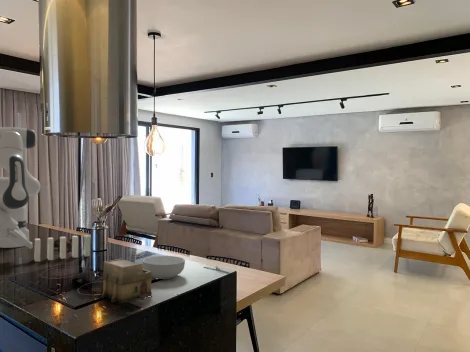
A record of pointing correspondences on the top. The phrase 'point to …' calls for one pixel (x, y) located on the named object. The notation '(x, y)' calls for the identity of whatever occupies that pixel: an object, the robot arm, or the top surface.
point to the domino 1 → (37, 250)
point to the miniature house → (125, 281)
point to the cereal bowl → (164, 266)
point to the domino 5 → (86, 245)
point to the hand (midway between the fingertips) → (31, 247)
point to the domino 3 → (63, 247)
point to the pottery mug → (68, 244)
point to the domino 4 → (74, 246)
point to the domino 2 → (50, 248)
